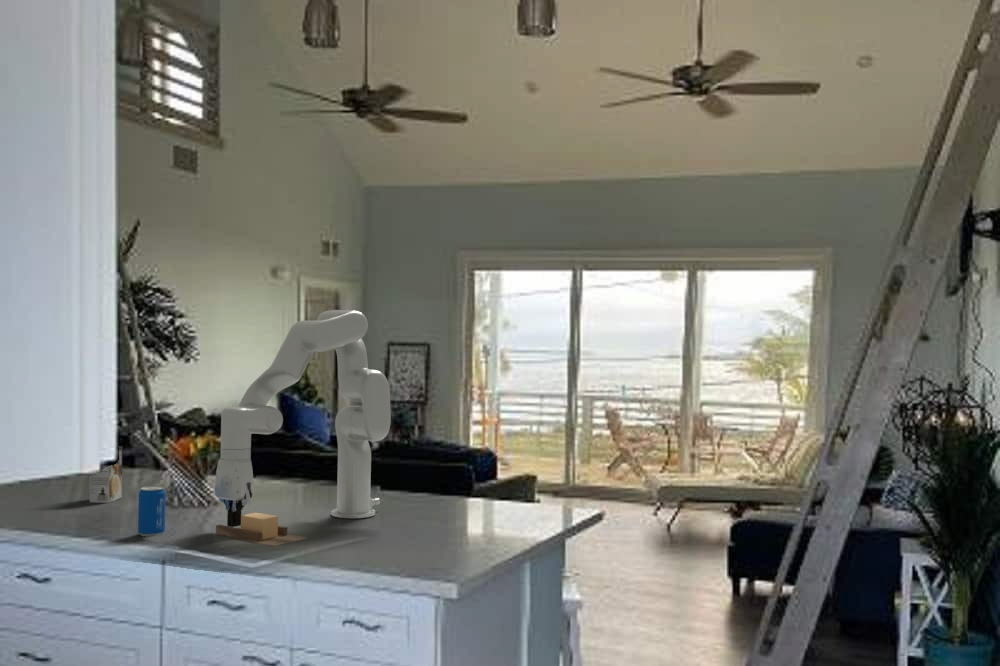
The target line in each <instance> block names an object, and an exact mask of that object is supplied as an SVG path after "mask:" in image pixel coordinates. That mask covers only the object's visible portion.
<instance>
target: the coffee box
mask: <svg viewBox="0 0 1000 666" xmlns="http://www.w3.org/2000/svg"><path fill="white" fill-rule="evenodd" d="M118 447H119V460H118V462H117V463H116V464H114V465H111V466H108V467H105V468H104V469H103V470H102V472H101V473H99V474H96V475H92V476H90V475H89V503H96V504H97V503H99V504H101V503H103V504H110V503H111V502H112V503H113V502H115V501H117V500H119V499H122V498H123V497H122V496H123V495H122V494H123V493H122V492H123V446H118Z"/></svg>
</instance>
